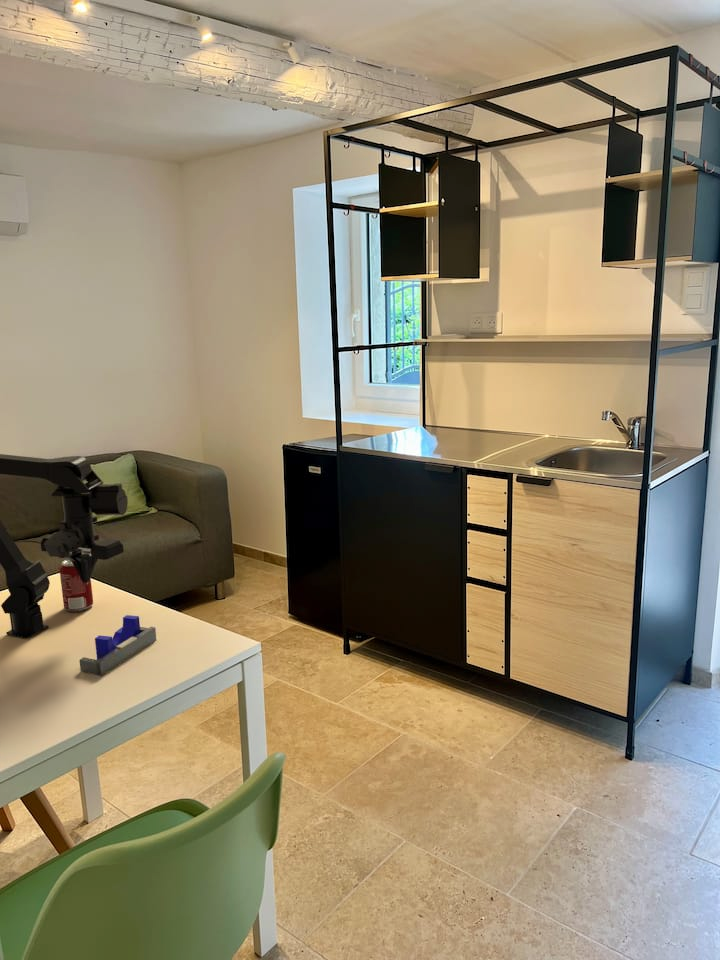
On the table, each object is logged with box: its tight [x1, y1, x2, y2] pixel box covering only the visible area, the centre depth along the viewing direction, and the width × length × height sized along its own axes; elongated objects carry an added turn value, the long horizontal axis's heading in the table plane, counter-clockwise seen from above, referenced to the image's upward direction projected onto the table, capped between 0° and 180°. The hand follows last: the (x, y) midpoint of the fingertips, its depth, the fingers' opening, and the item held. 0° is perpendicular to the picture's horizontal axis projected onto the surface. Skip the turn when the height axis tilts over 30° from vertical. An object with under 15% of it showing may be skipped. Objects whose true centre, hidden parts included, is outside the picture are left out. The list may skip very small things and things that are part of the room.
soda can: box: [59, 558, 94, 613], centre depth 178 cm, size 7×7×12 cm
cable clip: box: [94, 614, 141, 660], centre depth 155 cm, size 12×4×6 cm, turn 166°
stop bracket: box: [78, 626, 157, 677], centre depth 154 cm, size 5×17×3 cm, turn 158°
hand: (85, 582), depth 163 cm, fingers closed
